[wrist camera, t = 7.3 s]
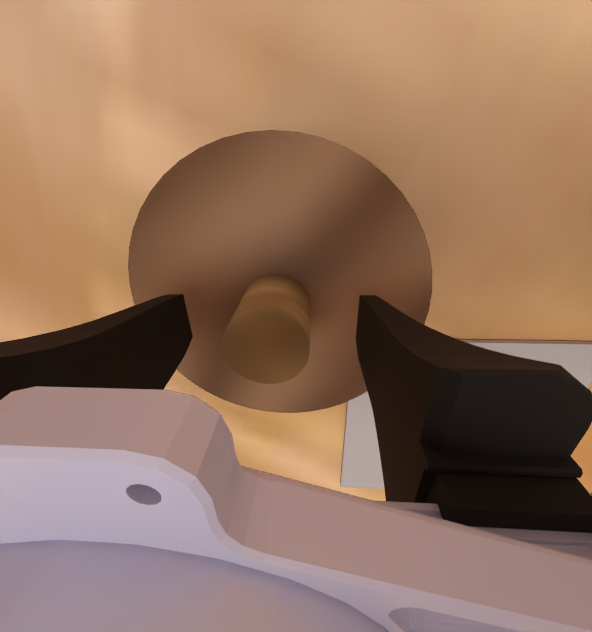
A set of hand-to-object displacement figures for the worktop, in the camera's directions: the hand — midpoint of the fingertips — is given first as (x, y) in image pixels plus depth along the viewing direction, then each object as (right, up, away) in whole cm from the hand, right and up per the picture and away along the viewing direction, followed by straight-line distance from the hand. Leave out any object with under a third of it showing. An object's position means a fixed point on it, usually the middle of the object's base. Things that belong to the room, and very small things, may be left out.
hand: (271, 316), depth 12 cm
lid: (0, +1, +2) cm, 3 cm away
